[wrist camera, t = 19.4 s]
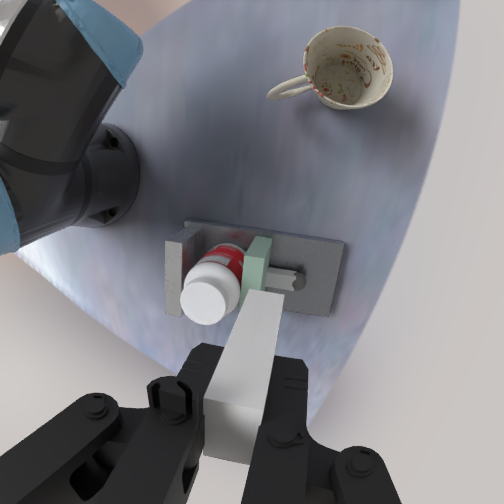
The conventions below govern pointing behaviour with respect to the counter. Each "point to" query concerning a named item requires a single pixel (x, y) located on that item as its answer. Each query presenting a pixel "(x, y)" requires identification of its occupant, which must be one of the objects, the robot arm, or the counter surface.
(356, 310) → the counter surface
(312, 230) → the counter surface
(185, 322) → the counter surface
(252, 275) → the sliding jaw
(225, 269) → the pill bottle
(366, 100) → the mug
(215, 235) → the vise base
